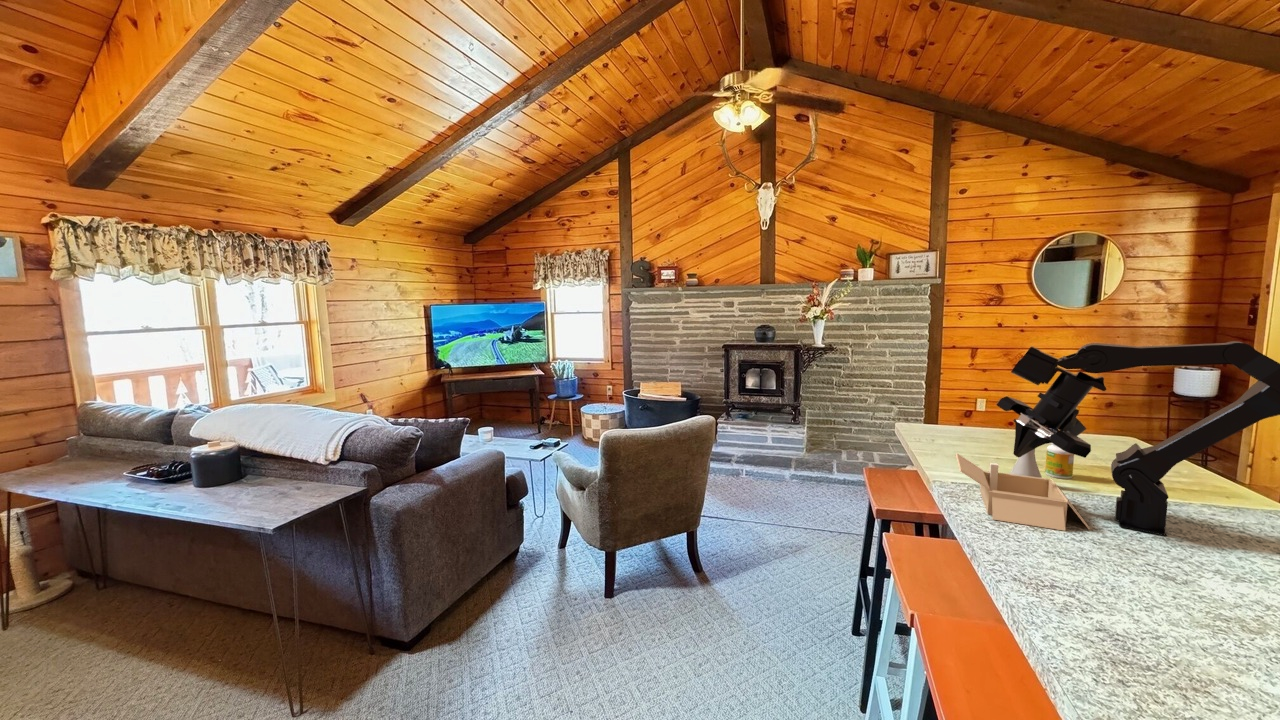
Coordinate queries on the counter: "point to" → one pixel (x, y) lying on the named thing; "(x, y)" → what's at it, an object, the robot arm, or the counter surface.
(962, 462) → the far flap
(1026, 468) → the flask
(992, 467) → the foam post
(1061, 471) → the supplement bottle
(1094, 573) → the counter surface
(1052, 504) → the carton
